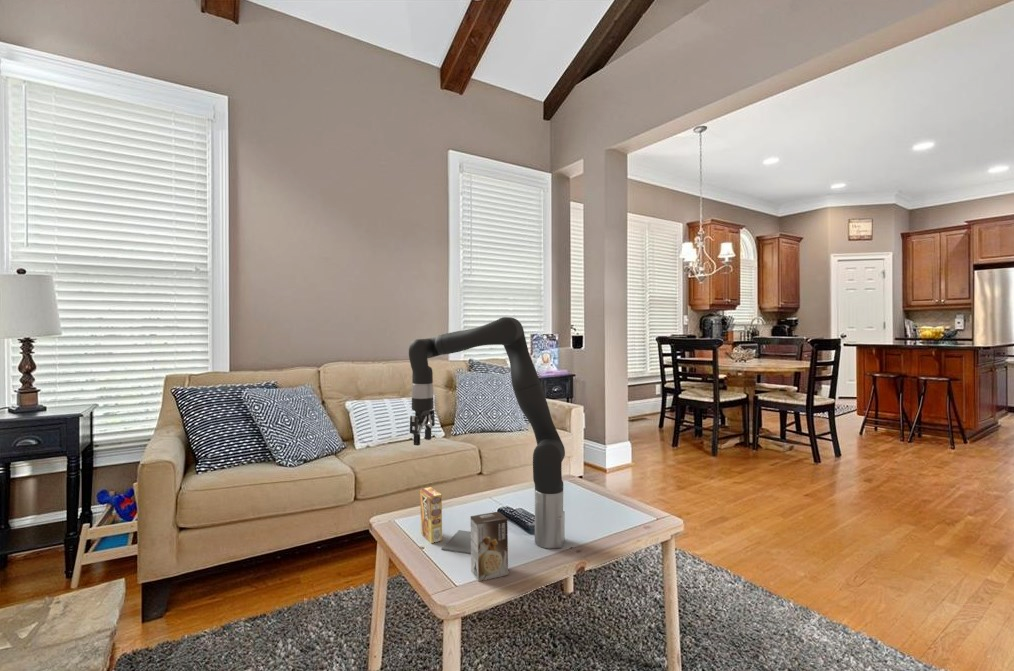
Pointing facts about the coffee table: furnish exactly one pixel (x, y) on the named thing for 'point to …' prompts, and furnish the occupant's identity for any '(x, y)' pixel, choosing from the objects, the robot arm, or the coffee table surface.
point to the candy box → (431, 514)
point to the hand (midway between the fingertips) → (422, 442)
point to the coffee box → (489, 546)
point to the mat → (459, 542)
